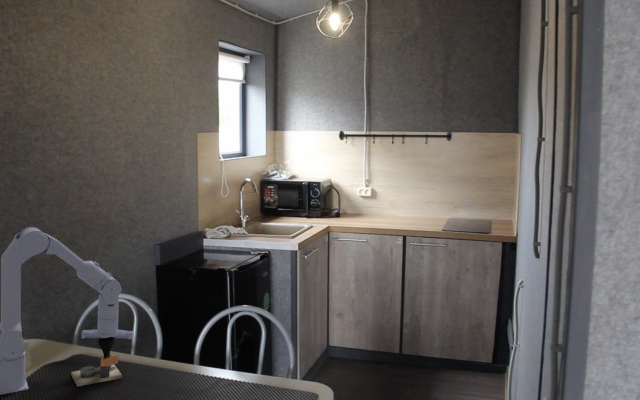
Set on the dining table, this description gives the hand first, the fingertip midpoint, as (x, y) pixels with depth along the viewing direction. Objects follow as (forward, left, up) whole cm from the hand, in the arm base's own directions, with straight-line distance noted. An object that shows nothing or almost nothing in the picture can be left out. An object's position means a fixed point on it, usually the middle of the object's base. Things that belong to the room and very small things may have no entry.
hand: (106, 361), depth 161 cm
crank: (-3, -3, -1) cm, 4 cm away
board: (-4, -4, -3) cm, 6 cm away
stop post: (-2, -8, -3) cm, 8 cm away
